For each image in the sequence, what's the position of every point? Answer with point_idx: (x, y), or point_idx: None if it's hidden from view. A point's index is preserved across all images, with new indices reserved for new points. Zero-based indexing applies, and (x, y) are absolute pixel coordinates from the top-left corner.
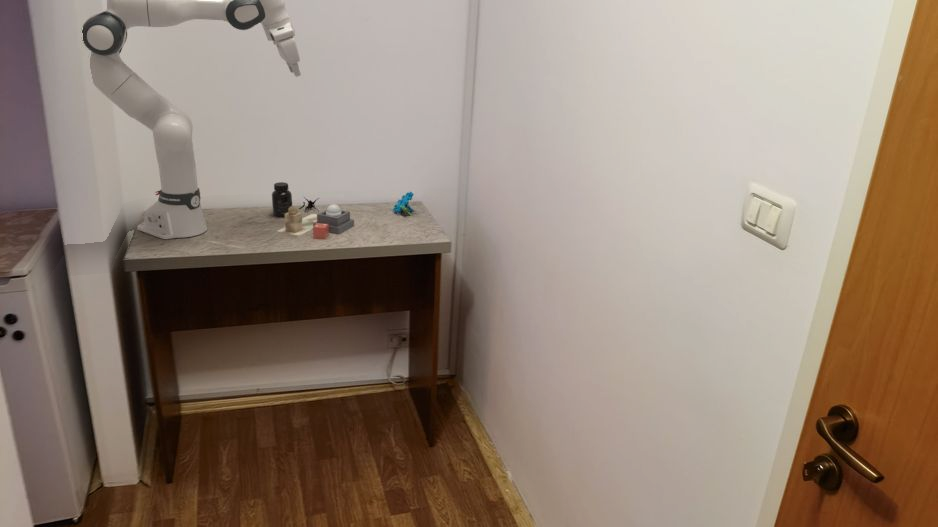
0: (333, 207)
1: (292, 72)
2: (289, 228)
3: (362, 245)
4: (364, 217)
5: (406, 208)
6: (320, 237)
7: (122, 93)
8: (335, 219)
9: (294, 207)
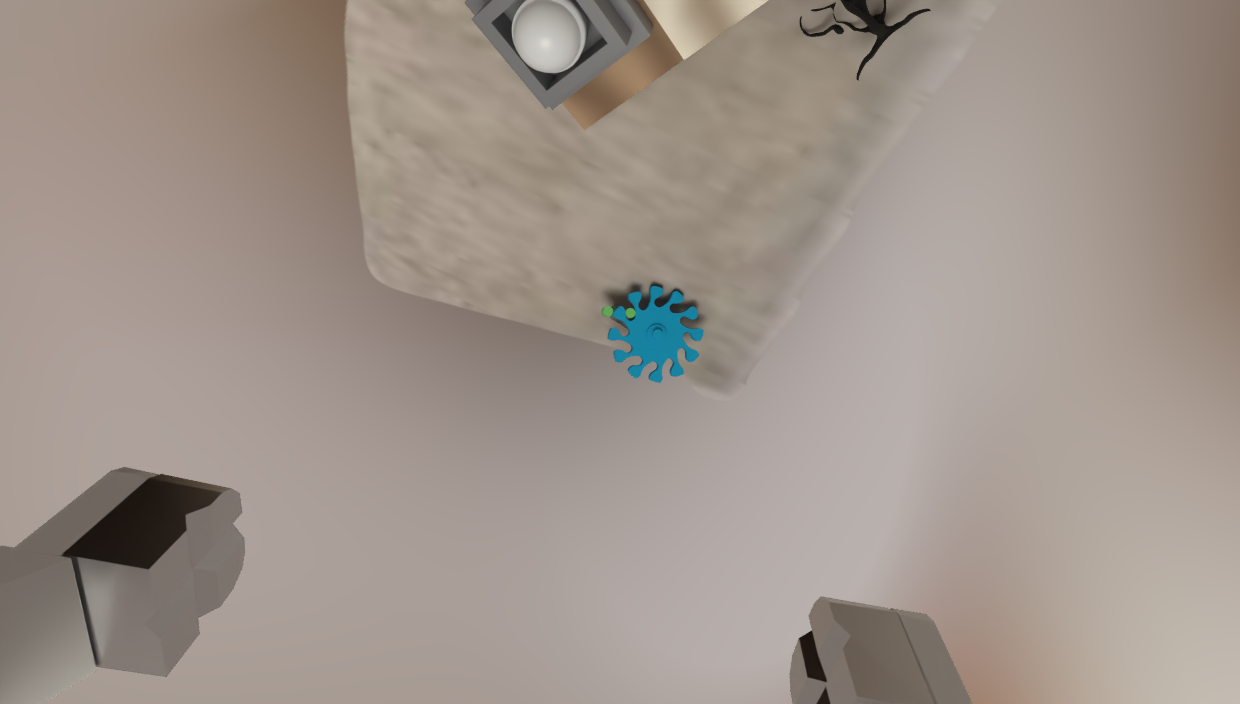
0: (521, 36)
1: (817, 608)
2: None
3: (359, 38)
4: (658, 179)
5: (612, 318)
6: None
7: None
8: (481, 9)
9: None
